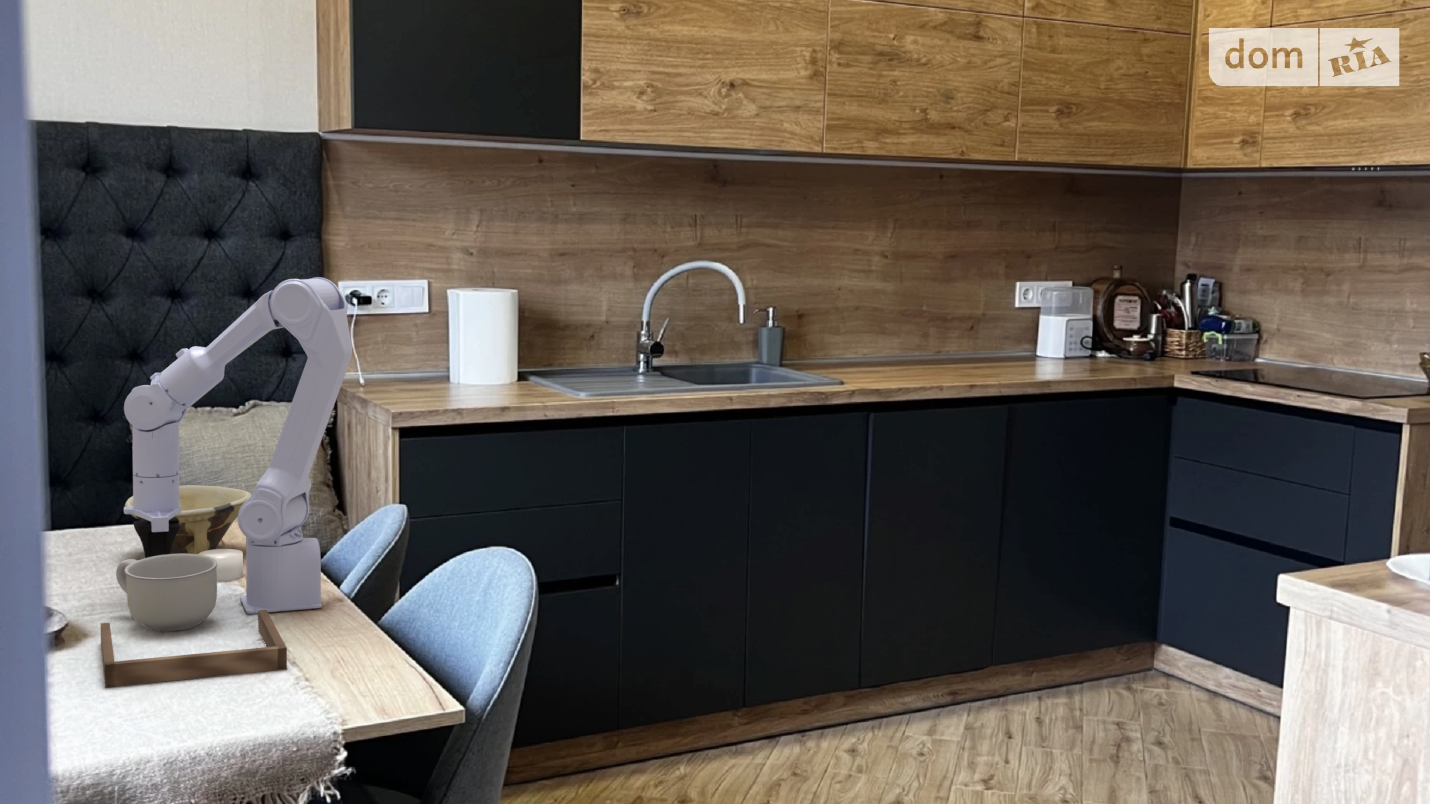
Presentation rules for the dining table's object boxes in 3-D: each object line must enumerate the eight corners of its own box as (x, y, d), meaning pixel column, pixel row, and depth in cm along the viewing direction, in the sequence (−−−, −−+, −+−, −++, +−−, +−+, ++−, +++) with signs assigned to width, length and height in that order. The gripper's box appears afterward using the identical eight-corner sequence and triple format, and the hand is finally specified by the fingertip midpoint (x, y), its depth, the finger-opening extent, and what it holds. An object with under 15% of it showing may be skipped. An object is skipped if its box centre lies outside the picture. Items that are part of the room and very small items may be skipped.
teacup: (235, 623, 173) (235, 561, 172) (161, 642, 164) (160, 578, 163) (167, 604, 180) (166, 545, 179) (91, 622, 171) (90, 560, 170)
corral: (266, 629, 171) (266, 609, 170) (286, 669, 155) (286, 647, 155) (100, 643, 162) (100, 623, 162) (105, 687, 147) (104, 665, 147)
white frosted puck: (240, 571, 200) (240, 547, 199) (245, 580, 194) (245, 556, 194) (196, 574, 197) (196, 550, 196) (200, 584, 192) (200, 559, 191)
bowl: (125, 547, 211) (124, 486, 210) (247, 540, 218) (247, 482, 217) (125, 574, 195) (124, 508, 194) (257, 566, 202) (257, 503, 201)
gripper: (121, 466, 185) (122, 563, 187) (125, 484, 172) (127, 589, 174) (176, 464, 188) (177, 560, 190) (185, 482, 176) (185, 585, 177)
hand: (157, 573), depth 182 cm, fingers closed
